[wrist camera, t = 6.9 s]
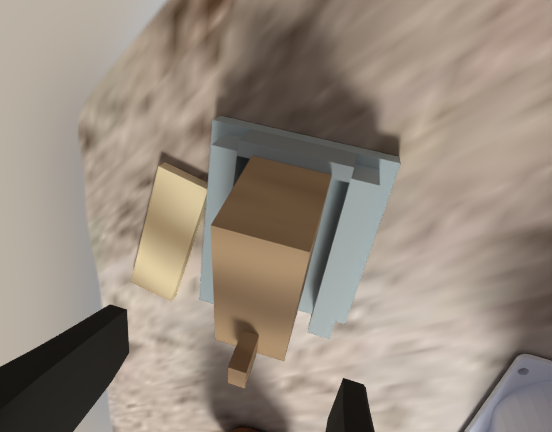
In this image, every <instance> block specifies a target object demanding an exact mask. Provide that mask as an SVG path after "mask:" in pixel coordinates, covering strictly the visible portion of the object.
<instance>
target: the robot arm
mask: <svg viewBox="0 0 552 432" xmlns="http://www.w3.org/2000/svg"><path fill="white" fill-rule="evenodd" d="M128 354H129V341H128V321H127V310H126V309H123V308H120V307H117V306H114V305H111V304H110V305H108V306H107V307H105V308H103V309H101V310H100V311H98V312H96V313H95V314H93V315H91V316H90V317H88V318H86V319H85V320H83V321H81V322H80V323H78V324H77V325H75V326H73V327H71V328H70V329H68V330H66V331H64V332H63V333H61V334H59V335H58V336H56V337H54V338H52V339H51V340H49V341H47V342H45V343H44V344H42V345H40V346H38V347H37V348H35V349H33V350H31V351H29V352H27V353H26V354H24V355H22V356H20V357H18V358H16V359H14V360H12V361H10V362H9V363H7V364H5V365H3V366H1V367H0V432H73V431H74V430H75V428H76V427H77V426H78V425H79V423H80V422H81V421H82V419H83V418H84V417H85V416H86V414H87V413H88V412H89V410H90V409H91V408H92V407H93V405H94V404H95V403H96V401H97V400H98V399H99V397H100V396H101V395H102V393H103V392H104V391H105V390H106V388H107V387H108V386H109V384H110V383H111V382H112V380H113V378H114V377H115V375H116V374H117V372H118V370H119V369H120V367H121V365H122V364H123V362H124V360H125V359H126V357H127V355H128ZM521 368H524V369H521ZM326 432H375V431H374V427H373V422H372V418H371V414H370V409H369V404H368V398H367V392H366V387H365V386H364V384H361V383H358V382H354V381H351V380H348V379H345V378H343V380H342V383H341V385H340V388H339V391H338V393H337V396H336V399H335V401H334V404H333V406H332V409H331V412H330V414H329V417H328V421H327V427H326ZM464 432H552V361H551V360H547V359H544V358H540V357H537V356H534V355H530V354H521V355H519V356H518V357H516V359H515V360H514V362H513V363H512V364H511V366H510V367H509V369H508V370H507V371H506V373H505V374H504V376H503V377H502V379H501V380H500V381H499V383H498V384H497V386H496V387H495V388H494V390H493V391H492V393H491V394H490V396H489V397H488V398H487V400H486V401H485V403H484V404H483V405H482V407H481V408H480V410H479V411H478V413H477V414H476V415H475V417H474V418H473V420H472V421H471V423H470V424H469V425H468V427H467V428H466V430H465V431H464Z"/></svg>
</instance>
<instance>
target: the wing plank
mask: <svg viewBox="0 0 552 432" xmlns="http://www.w3.org/2000/svg"><path fill="white" fill-rule="evenodd" d="M207 187H208V183H207V182H205V181H203V180H201V179H199V178H197V177H195V176H193V175H191V174H189V173H186V172H184V171H182V170H180V169H178V168H176V167H174V166H172V165H170V164H168V163H166V162H164V163H163V164H161V165H159V166H158V170H157V174H156V178H155V182H154V187H153V191H152V195H151V199H150V204H149V208H148V212H147V216H146V220H145V225H144V229H143V233H142V237H141V241H140V246H139V250H138V254H137V258H136V263H135V267H134V271H133V275H132V279H131V282H132V283H134V284H136V285H138V286H140V287H142V288H144V289H146V290H148V291H151V292H153V293H155V294H157V295H159V296H161V297H163V298H165V299H167V300H169V301H172V300H173V299H174V297H175V296H176V294H177V291H178V288H179V285H180V282H181V279H182V276H183V273H184V270H185V267H186V264H187V261H188V258H189V255H190V252H191V249H192V246H193V243H194V240H195V237H196V234H197V231H198V228H199V225H200V222H201V219H202V216H203V213H204V210H205V207H206V200H207Z"/></svg>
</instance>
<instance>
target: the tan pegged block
mask: <svg viewBox="0 0 552 432" xmlns="http://www.w3.org/2000/svg"><path fill="white" fill-rule="evenodd" d="M331 177H332V175H330V174H326V173H322V172H318V171H314V170H310V169H306V168H301V167H297V166H293V165H289V164H285V163H281V162H277V161H272V160H268V159H264V158H260V157H256V156H252V157H251V158H250V160H249V162H248V164H247V165H246V167H245V169H244V170H243V172H242V174H241V175H240V177H239V179H238V180H237V182H236V184H235V185H234V187H233V189H232V190H231V192H230V194H229V195H228V197H227V199H226V200H225V202H224V204H223V205H222V207H221V209H220V210H219V212H218V214H217V215H216V217H215V219H214V220H213V222H212V224H211V246H212V270H213V294H214V318H215V340H218V341H222V342H225V343H228V344H231V345H234V346H236V348H235V351H234V353H233V356H232V359H231V361H230V364H229V366H228V383H230V384H233V385H236V386H239V387H242V388H245V386H246V383H247V380H248V377H249V374H250V372H251V369H252V366H253V363H254V360H255V357H256V354H257V353H259V354H262V355H266V356H269V357H272V358H275V359H278V360H281V361H284V359H285V355H286V351H287V348H288V344H289V340H290V337H291V333H292V329H293V326H294V322H295V318H296V315H297V311H298V307H299V304H300V300H301V297H302V293H303V289H304V285H305V281H306V277H307V273H308V269H309V265H310V261H311V257H312V253H313V249H314V245H315V241H316V237H317V233H318V229H319V225H320V221H321V217H322V213H323V209H324V205H325V201H326V197H327V193H328V189H329V185H330V181H331Z"/></svg>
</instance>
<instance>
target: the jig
mask: <svg viewBox="0 0 552 432" xmlns="http://www.w3.org/2000/svg"><path fill="white" fill-rule="evenodd" d="M252 156H256V157H260V158H264V159H268V160H272V161H277V162H281V163H285V164H289V165H293V166H297V167H301V168H306V169H310V170H314V171H318V172H322V173H326V174H330V175H332V177H331V181H330V185H329V189H328V193H327V197H326V201H325V205H324V209H323V213H322V217H321V221H320V225H319V229H318V233H317V237H316V241H315V245H314V249H313V253H312V257H311V261H310V265H309V269H308V273H307V277H306V281H305V285H304V289H303V293H302V297H301V300H300V304H299V307H298V310H299V311H303V312H306V313H309V314H312V315H311V319H310V324H309V328H308V333H311V334H314V335H318V336H321V337H324V338H327V339H330V336H331V333H332V330H333V327H334V324H335V321H336V322H340V323H343V324H345V322H346V319H347V316H348V313H349V311H350V308H351V305H352V302H353V299H354V296H355V293H356V290H357V288H358V285H359V282H360V279H361V276H362V273H363V270H364V267H365V264H366V262H367V259H368V256H369V253H370V250H371V247H372V244H373V241H374V239H375V236H376V233H377V230H378V227H379V224H380V221H381V218H382V216H383V213H384V210H385V207H386V204H387V201H388V198H389V195H390V193H391V190H392V187H393V184H394V181H395V178H396V175H397V172H398V170H399V167H400V164H401V163H400V157H399V156H394V155H390V154H386V153H381V152H377V151H372V150H368V149H364V148H359V147H355V146H351V145H346V144H342V143H338V142H333V141H329V140H324V139H320V138H316V137H311V136H307V135H303V134H298V133H294V132H290V131H285V130H281V129H277V128H272V127H268V126H263V125H259V124H255V123H250V122H246V121H242V120H237V119H233V118H229V117H224V116H219V117H217V118H215V119H213V122H212V135H211V148H210V161H209V174H208V187H207V200H206V213H205V226H204V239H203V252H202V265H201V278H200V281H201V284H200V297H199V300H202V301H206V302H209V303H212V304H214V294H213V270H212V246H211V224H212V222H213V220H214V219H215V217H216V215H217V214H218V212H219V210H220V209H221V207H222V205H223V204H224V202H225V200H226V199H227V197H228V195H229V194H230V192H231V190H232V189H233V187H234V185H235V184H236V182H237V180H238V179H239V177H240V175H241V174H242V172H243V170H244V169H245V167H246V165H247V164H248V162H249V160H250V158H251V157H252Z"/></svg>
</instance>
